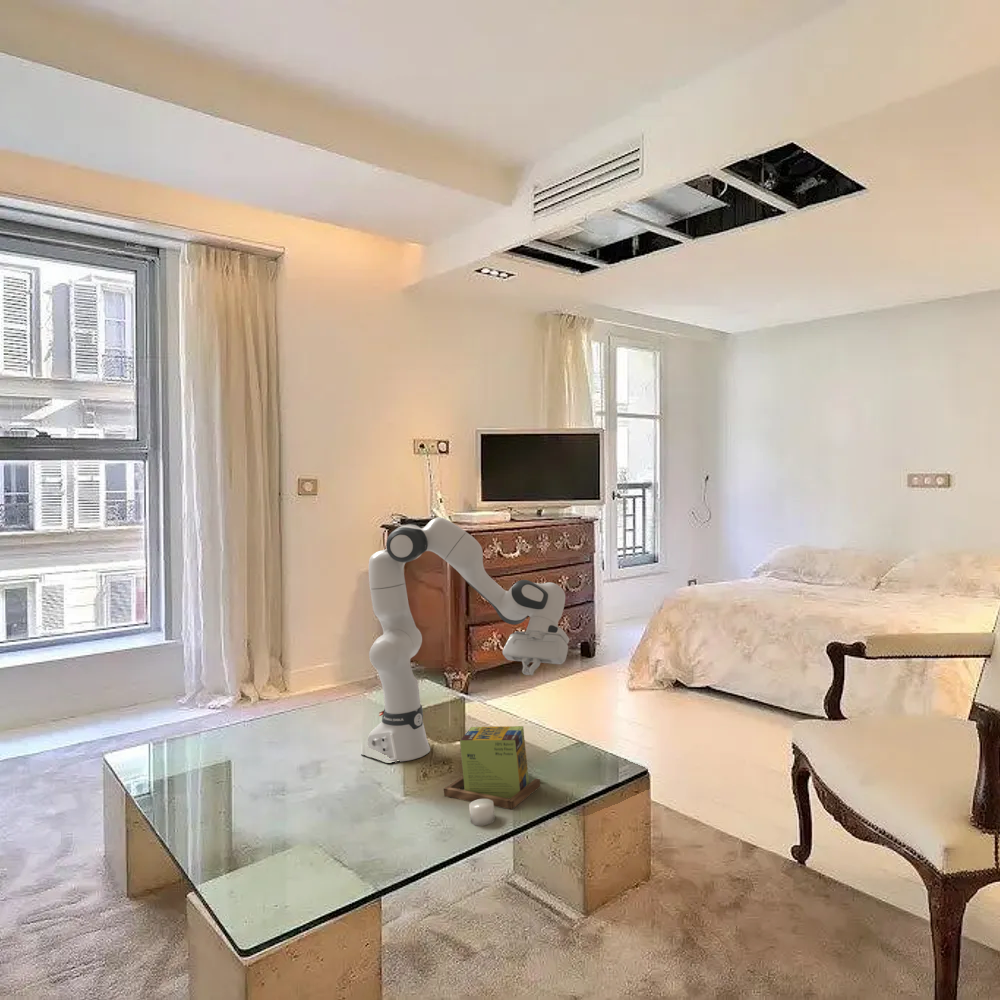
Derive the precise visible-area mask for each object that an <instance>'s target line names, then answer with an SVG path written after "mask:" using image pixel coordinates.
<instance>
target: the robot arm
mask: <svg viewBox="0 0 1000 1000" xmlns="http://www.w3.org/2000/svg"><path fill="white" fill-rule="evenodd" d="M385 547H386V548H385V549H381V550H378V551H376V552H374V553H373V554H371V556H370V557H369V561H368V585H369V591H370V600H371V606H372V611H373V614H374V616H375V617H376V618H377V620H378V621H379V623H380V625H381V628H382V635H380V636H378V637H377V638H376V639H375V640H374V642H373V644H372V645H371V647H370V649H369V651H368V656H369V657H368V659H369V662H370V663H371V665H372V666H373V668H374V669H376V671H377V674H378V676H379V680H380V682H381V687H382V693H383V695H382V696H383V701H384V703H383V704H384V709H383V710H382V711H379V715H378V716H379V717H382V719H381V722H379V724H377V725H376V726H375V727H374V728H372V730H371V731H370V732H369V734H368V736H367V746H368V748H371V749H373V750H376V751H378V752H380V753H382V754H384V755H387V757H389V758H390V759H383V760H385V761H397V760H399V761H400V762H406V761H407V762H408V761H412V760H416V759H419V758H422V757H424V756H425V755H428V753H430V752H431V747H430V745H429V744H430V743H429V740H428V739H427V738H428V737H427V733H426V729H425V724H424V712H423V705H422V703H421V696H420V687H419V681H418V679H417V678H416V677H415V675H414V672H413V669H412V666H411V659H412V658H413V657H415V656H416V655H417V654H418V653H419V650H420V648H421V647H422V643H423V635H422V633H421V631H420V629H419V628H418V627H417V626H416V623H415V620H414V616H413V614H412V612H411V608H410V605H409V603H410V602H409V600H408V598H409V597H408V592H407V591H408V590H407V584H406V579H405V578H406V577H405V564H407V563H409V562H413V561H414V560H417V559H418V558H420V557H421V556H422V555H423V554H424V553H426V552H431V553H434V554H435V555H437V556H439V558H441V559H443V561H445V562H446V563H447V564H448V565H449V566H451V567H452V568H453V569H454V570H456V572H458V573H459V574H460V576H461V577H462V578H463V580H465V582H466V583H467V584H468V585H469V586H470V587H471V588H473V590H475V591H476V593H478V594H479V595H480V596H481V597H483V599H484V600H486V601H487V603H488V604H489V605H491V607H492V608H493V609H494V610H495V612H496V613H497V615H498V617H499V618H500V619H501V620H502V621H503V622H504V623H506V624H509V625H513V626H514V625H520V624H521V623H523V622H524V621H526V619H527V618H528V617H529V618H530V619H529V621H528V623H527V627H526V630H525V631H520V630H519V631H514V632H512V633H511V634H510V635H509V637H508V639H507V641H506V643H505V644H504V647H503V649H502V655H503V657H504V658H505V659H506V660H507V661H514V662H521V663H522V669H521V673H522V674H523V675H527V676H534V673H535V671H536V670H537V669H538V668H539V667H540V665H541V663H542V664H553V665H562V664H564V663H565V662H566V659H567V656H568V651H569V647H568V646H569V645H568V644H569V642H570V638H569V636H568V634H567V633H566V632H565V630H563V628H561V627H560V626H559V622H560V619H562V615H563V612H564V608H565V604H566V593H565V590H564V588H563V587H561V586H560V585H558V584H557V583H554V582H552V581H551V582H543V583H538V582H533V581H531V580H528V579H520V580H518V581H516V582H515V583H514V584H513V585H512V586H511V587H510V588H509V589H508V590H506V589H504V588H503V587H502V586H501V585H499V584H498V582H496V581H495V579H493V578H492V577H491V576H489V574H488V573H487V572H486V569H485V567H484V552H483V548H482V545H481V544H480V543H479V541H478V540H477V539H476V538H475V537H474V536H473V535H471V534H470V533H468V532H467V531H466V530H465V529H463V528H462V527H460V526H458V525H457V524H455V523H454V522H452V521H450V520H448V519H447V518H444V517H442V516H441V517H439V516H437V517H435V518H433V519H431V520H429V522H428V523H426V525H425V526H424V527H422V526H420V525H419V524H415V523H408V524H403V525H400V526H399V527H397V528H395V529H394V530H393V531H391V532H390V533H389V535H388V537H387V539H386V543H385ZM530 663H532V664H531V665H530ZM529 665H530V666H529ZM384 758H385V757H384Z"/></svg>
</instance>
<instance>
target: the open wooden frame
mask: <svg viewBox="0 0 1000 1000" xmlns="http://www.w3.org/2000/svg"><path fill="white" fill-rule="evenodd" d="M463 787H464V779H463V775H461V776H460V777H459V778H457V779H456V780H455V781H453V782H451V783H450V784H448V785H447V786H445V787H444V788H443V795H444V797H448V798H453V799H459V800H464V801H468V802H472V801H474V800H477V799H490V800H492V801H493V803H494V807H497V808H503V809H508V810H514V809H515V808H516V807H517V806H519V805H520V804H521V803H522V802H524V800H526V799H527V798H528V797H530V794H531V793H532V792H533V793H535V790H536V789H537V790H538V789H539V788H541V779H540V778H534V779H533V780H532V781H531V782H528V784H527V786H526V787H524V788H523V789H522V790H521V791H519V792H518V793H517V794H515V795H514V796H513V797H512V798H503V797H497V796H492V795H487V794H482V793H476V792H471V791H466V790H464V789H461V788H463ZM537 790H536V791H537ZM533 793H532V794H533ZM532 794H531V795H532ZM527 796H528V797H527Z"/></svg>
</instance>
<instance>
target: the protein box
mask: <svg viewBox="0 0 1000 1000" xmlns="http://www.w3.org/2000/svg"><path fill="white" fill-rule="evenodd" d="M525 741H526V740H525V731H524V725H515V726H510V725H509V726H505V725H504V726H501V725H500V726H471V727H469V729H468V730H467V731H466V733H465V734H464V735H463V737H462V738H461V739H460V740H459V743H460V747H459V748H460V758H461V766H462V776H463V779H464V786H463V787H464V789H463V790H466V791H471V792H476V793H482V794H487V795H492V796H497V797H503V798H508V799H510V798H512V797H513V796H514V795H515V794H517V793H518V792H519V791H521V790H522V789H523V788H524V787H526V786H527V785H528V784H529V783H530V781H529V770H528V761H527V751H526V742H525Z"/></svg>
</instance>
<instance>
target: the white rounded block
mask: <svg viewBox="0 0 1000 1000" xmlns="http://www.w3.org/2000/svg"><path fill="white" fill-rule="evenodd" d="M468 809H469V818H470V819H469V820H470V824H472V825H474V826H477V827H478V826H479V827H482V825H484V826H488V825H491V824H492V823H493V822H495V820H496V818H495V817H496V814H495V806H494V803H493V801H492V800H490V799H477V800H474V801H470V803H469V804H468ZM487 824H488V825H487Z"/></svg>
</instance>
